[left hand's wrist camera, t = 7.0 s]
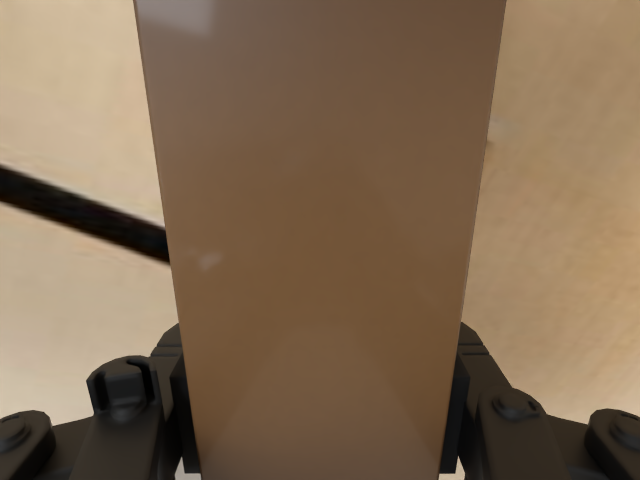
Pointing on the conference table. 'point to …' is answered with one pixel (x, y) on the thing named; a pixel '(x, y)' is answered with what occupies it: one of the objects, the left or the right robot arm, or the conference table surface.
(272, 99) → the bar
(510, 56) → the conference table surface
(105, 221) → the conference table surface
